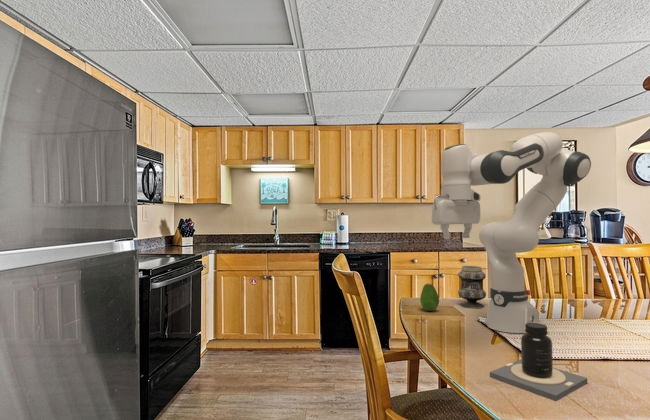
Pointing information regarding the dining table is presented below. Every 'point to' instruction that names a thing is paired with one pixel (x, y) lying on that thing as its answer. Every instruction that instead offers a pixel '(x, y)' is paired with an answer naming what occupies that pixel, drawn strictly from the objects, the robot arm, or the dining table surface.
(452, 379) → the dining table surface
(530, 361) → the supplement bottle
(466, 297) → the apothecary jar
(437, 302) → the avocado
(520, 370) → the slate board
